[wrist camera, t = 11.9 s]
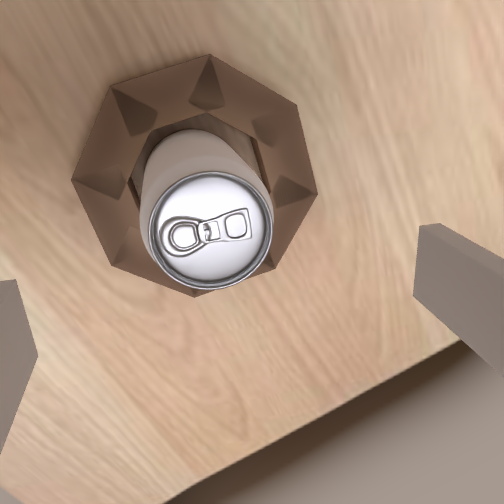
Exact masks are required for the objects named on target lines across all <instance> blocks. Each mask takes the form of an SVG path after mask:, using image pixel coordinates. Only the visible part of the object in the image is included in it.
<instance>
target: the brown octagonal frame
mask: <svg viewBox="0 0 504 504" xmlns="http://www.w3.org/2000/svg"><path fill="white" fill-rule="evenodd" d="M203 113H208V114H210V115H212V116H214V117H216V118H218V119H219V120H221V121H223V122H225V123H227V124H229V125H231V126H232V127H234V128H236V129H238V130H240V131H242V132H244V133H245V134H247V135H249V136H250V138H251V142H252V145H253V149H254V152H255V156H256V159H257V163H258V166H259V170H260V173H261V176H262V180H263V184H264V186H265V187H266V189H267V191H268V194H269V196H270V199H271V202H272V206H273V214H274V223H273V238H272V243H271V246H270V249H269V251H268V254H267V256H266V257H265V259H264V261H263V262H262V264H261V265H260V266H259V267H258V269H257V270H256V271H255V272H254V273H252V274H251V275H250V276H249V277H247V278H246V279H248V278H251V277H254V276H257V275H259V274H262V273H265V272H268V271H271V270H273V269H275V268H276V266H277V265H278V263H279V261H280V259H281V258H282V256H283V254H284V252H285V251H286V249H287V247H288V246H289V244H290V242H291V240H292V239H293V237H294V235H295V233H296V232H297V230H298V228H299V226H300V225H301V223H302V221H303V219H304V218H305V216H306V214H307V212H308V211H309V209H310V207H311V205H312V204H313V202H314V200H315V198H316V197H317V195H318V192H317V188H316V184H315V180H314V176H313V171H312V167H311V163H310V159H309V155H308V150H307V146H306V142H305V138H304V134H303V129H302V125H301V121H300V117H299V113H298V109H297V105H296V104H294V103H293V102H291V101H289V100H287V99H286V98H284V97H282V96H281V95H279V94H277V93H276V92H274V91H272V90H270V89H269V88H267V87H265V86H264V85H262V84H260V83H259V82H257V81H255V80H253V79H252V78H250V77H248V76H247V75H245V74H243V73H242V72H240V71H238V70H236V69H235V68H233V67H231V66H230V65H228V64H226V63H225V62H223V61H221V60H219V59H218V58H216V57H214V56H213V55H211V54H209V55H205V56H202V57H199V58H196V59H193V60H190V61H187V62H184V63H180V64H177V65H174V66H171V67H168V68H165V69H162V70H159V71H156V72H152V73H149V74H146V75H143V76H140V77H137V78H134V79H131V80H127V81H124V82H121V83H118V84H115V85H112V86H110V88H109V90H108V92H107V95H106V97H105V100H104V102H103V104H102V107H101V109H100V112H99V114H98V116H97V119H96V121H95V124H94V126H93V128H92V131H91V133H90V135H89V138H88V140H87V143H86V145H85V147H84V150H83V152H82V155H81V157H80V159H79V162H78V164H77V167H76V169H75V171H74V174H73V176H72V178H71V181H72V183H73V185H74V187H75V190H76V192H77V194H78V196H79V198H80V200H81V202H82V204H83V207H84V209H85V211H86V213H87V215H88V217H89V219H90V221H91V224H92V226H93V228H94V230H95V232H96V234H97V236H98V238H99V241H100V243H101V245H102V247H103V249H104V251H105V253H106V255H107V257H108V260H109V262H110V264H111V266H114V267H116V268H119V269H121V270H124V271H127V272H129V273H132V274H134V275H137V276H140V277H142V278H145V279H147V280H150V281H153V282H155V283H158V284H160V285H163V286H166V287H168V288H171V289H173V290H176V291H179V292H181V293H184V294H186V295H189V296H192V297H194V298H195V297H197V296H200V295H203V294H206V293H209V292H212V291H214V290H199V289H194V288H190V287H187V286H184V285H182V284H180V283H178V282H176V281H175V280H173V279H172V278H170V277H169V276H168V275H167V274H166V273H165V272H164V271H163V270H162V269H161V268H160V267H159V265H158V264H157V263H156V262H155V261H154V260H153V258H152V257H151V256H150V254H149V252H148V251H147V249H146V247H145V244H144V242H143V239H142V235H141V230H140V203H141V202H140V200H139V197H138V195H137V192H136V190H135V187H134V185H133V183H132V180H131V178H130V175H131V173H132V171H133V168H134V166H135V164H136V162H137V160H138V157H139V155H140V153H141V151H142V149H143V146H144V144H145V142H146V140H147V138H148V135H149V133H150V131H152V130H155V129H158V128H161V127H164V126H167V125H170V124H173V123H176V122H179V121H182V120H185V119H188V118H191V117H194V116H197V115H200V114H203Z"/></svg>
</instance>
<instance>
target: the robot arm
mask: <svg viewBox="0 0 504 504" xmlns="http://www.w3.org/2000/svg"><path fill="white" fill-rule="evenodd" d="M413 296H414V297H415V298H416V299H417V300H418V301H419V302H420V303H421V304H422V305H424V306H425V307H426V308H427V309H428V310H429V311H430V312H431V313H432V314H434V315H435V316H436V317H437V318H438V319H439V320H440V321H441V322H443V323H444V324H445V325H446V326H447V327H448V328H449V329H450V330H451V331H453V332H454V333H455V334H456V335H457V336H458V337H459V338H460V339H461V340H463V341H464V342H465V343H466V344H467V345H468V346H469V347H470V348H472V349H473V350H474V351H475V352H476V353H477V354H478V355H479V356H480V357H482V358H483V359H484V360H485V361H486V362H487V363H488V364H489V365H491V366H492V367H493V368H494V369H495V370H496V371H497V372H498V373H499V374H501V375H502V376H503V377H504V259H503V258H501V257H499V256H497V255H496V254H494V253H492V252H490V251H488V250H487V249H485V248H483V247H481V246H480V245H478V244H476V243H474V242H472V241H471V240H469V239H467V238H465V237H464V236H462V235H460V234H458V233H456V232H455V231H453V230H451V229H449V228H447V227H446V226H444V225H442V224H440V223H437V224H430V225H422V226H420V227H419V237H418V248H417V258H416V269H415V279H414V290H413ZM37 358H38V353H37V349H36V346H35V343H34V339H33V336H32V332H31V329H30V326H29V322H28V319H27V315H26V312H25V309H24V305H23V302H22V298H21V295H20V292H19V288H18V285H17V281H16V279H14V280H6V281H0V454H1V451H2V449H3V446H4V443H5V441H6V438H7V436H8V433H9V430H10V428H11V425H12V423H13V420H14V417H15V415H16V412H17V410H18V407H19V404H20V402H21V399H22V397H23V394H24V391H25V389H26V386H27V384H28V381H29V378H30V376H31V373H32V371H33V368H34V365H35V363H36V360H37Z"/></svg>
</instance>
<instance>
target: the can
mask: <svg viewBox="0 0 504 504" xmlns="http://www.w3.org/2000/svg"><path fill="white" fill-rule="evenodd" d="M273 223H274V214H273V206H272V202H271V199H270V196H269V194H268V191H267V189H266V187H265V186H264V184H263V183H262V181H261V180H260V178H259V177H258V176H257V175H256V174H255V172H254V171H253V170H252V169H251V168H250V167H249V166H248V165H247V164H246V163H245V162H244V161H243V159H242V158H241V157H240V156H239V155H238V154H237V153H236V152H235V151H234V150H233V149H232V148H231V147H230V146H229V145H228V144H227V143H226V142H225V141H223V140H222V139H221V138H219V137H218V136H216V135H214V134H212V133H209V132H207V131H203V130H196V129H188V130H182V131H178V132H175V133H173V134H170V135H169V136H167V137H165V138H164V139H163V140H161V141H160V142H159V143H158V144H157V145H156V147H155V148H154V149H153V151H152V152H151V154H150V156H149V158H148V160H147V164H146V167H145V172H144V178H143V186H142V194H141V203H140V230H141V235H142V239H143V242H144V244H145V247H146V249H147V251H148V252H149V254H150V256H151V257H152V258H153V260H154V261H155V262H156V263H157V264H158V265H159V267H160V268H161V269H162V270H163V271H164V272H165V273H166V274H167V275H168V276H169V277H170V278H172V279H173V280H175V281H176V282H178V283H180V284H182V285H184V286H187V287H190V288H194V289H199V290H218V289H223V288H227V287H230V286H233V285H235V284H237V283H239V282H241V281H243V280H245V279H246V278H247V277H249V276H250V275H251V274H252V273H254V272H255V271H256V270H257V269H258V267H259V266H260V265H261V264H262V262H263V261H264V259H265V257H266V256H267V254H268V251H269V249H270V246H271V243H272V238H273Z"/></svg>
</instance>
